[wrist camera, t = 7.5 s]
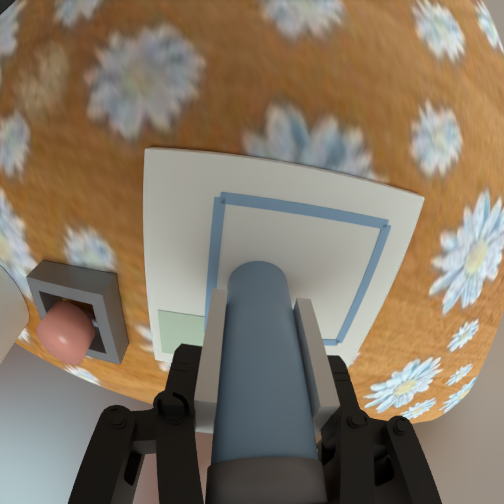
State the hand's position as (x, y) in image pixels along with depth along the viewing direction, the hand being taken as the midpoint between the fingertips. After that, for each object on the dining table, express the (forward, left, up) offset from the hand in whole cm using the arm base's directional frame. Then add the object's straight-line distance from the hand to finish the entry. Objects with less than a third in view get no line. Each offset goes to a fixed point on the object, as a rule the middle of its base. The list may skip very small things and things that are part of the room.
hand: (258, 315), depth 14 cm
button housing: (+5, -13, -3) cm, 14 cm away
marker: (0, 0, -2) cm, 3 cm away
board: (+1, +1, -3) cm, 3 cm away
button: (+5, -13, -1) cm, 14 cm away
